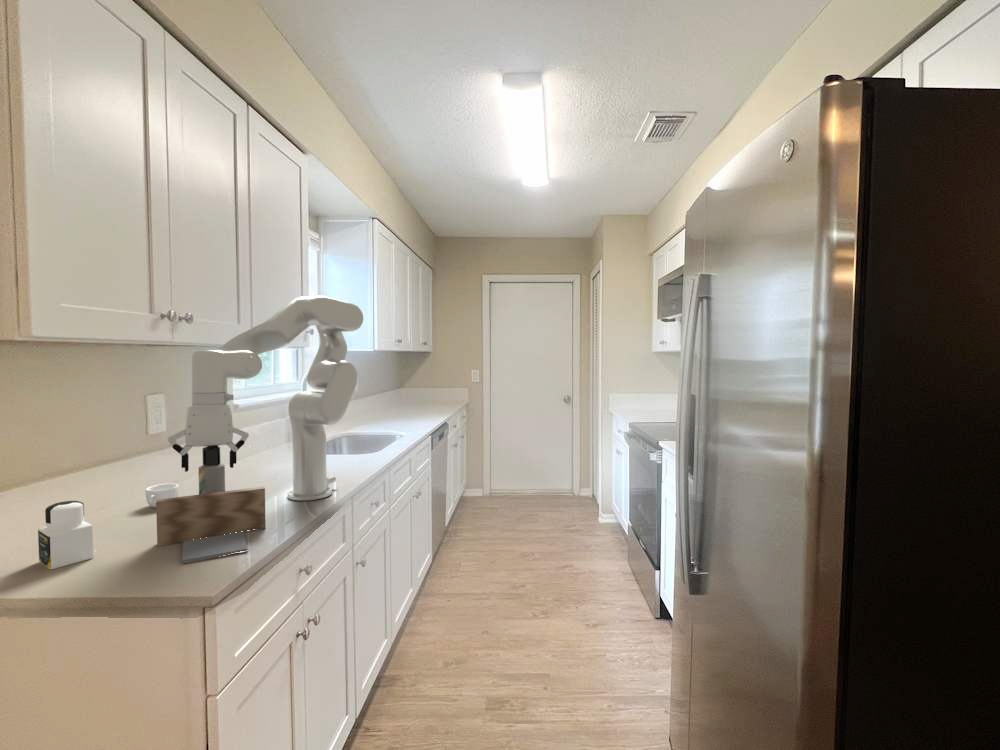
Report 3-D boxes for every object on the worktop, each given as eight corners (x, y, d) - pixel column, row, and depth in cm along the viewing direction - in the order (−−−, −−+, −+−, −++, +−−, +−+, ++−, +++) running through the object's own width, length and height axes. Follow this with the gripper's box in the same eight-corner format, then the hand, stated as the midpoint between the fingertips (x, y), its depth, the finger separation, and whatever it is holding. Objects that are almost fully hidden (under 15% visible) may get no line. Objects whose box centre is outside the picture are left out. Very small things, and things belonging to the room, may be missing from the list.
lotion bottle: (230, 521, 127) (228, 444, 127) (218, 529, 122) (216, 448, 121) (207, 521, 127) (206, 444, 126) (194, 529, 121) (192, 448, 121)
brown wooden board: (264, 526, 124) (263, 486, 124) (265, 528, 122) (264, 488, 122) (157, 543, 113) (156, 499, 112) (157, 546, 111) (156, 502, 111)
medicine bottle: (38, 562, 102) (36, 504, 102) (82, 550, 108) (80, 496, 108) (50, 570, 99) (47, 510, 98) (94, 558, 104) (92, 501, 104)
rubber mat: (243, 534, 118) (243, 531, 118) (247, 552, 108) (247, 548, 108) (183, 544, 112) (183, 541, 112) (182, 564, 102) (182, 560, 102)
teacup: (155, 502, 144) (155, 483, 144) (184, 501, 145) (183, 483, 145) (135, 513, 134) (134, 493, 134) (166, 512, 135) (165, 492, 135)
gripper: (247, 398, 131) (247, 462, 131) (168, 399, 122) (168, 469, 122) (250, 400, 124) (249, 468, 125) (166, 401, 115) (166, 475, 116)
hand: (209, 468), depth 123 cm, fingers open, 9 cm apart
